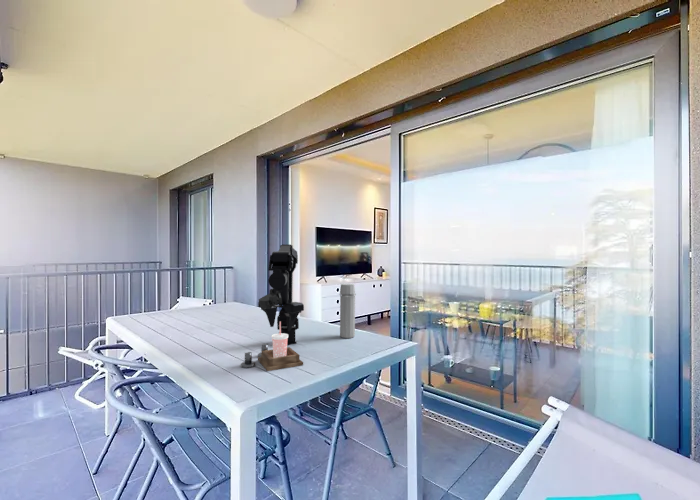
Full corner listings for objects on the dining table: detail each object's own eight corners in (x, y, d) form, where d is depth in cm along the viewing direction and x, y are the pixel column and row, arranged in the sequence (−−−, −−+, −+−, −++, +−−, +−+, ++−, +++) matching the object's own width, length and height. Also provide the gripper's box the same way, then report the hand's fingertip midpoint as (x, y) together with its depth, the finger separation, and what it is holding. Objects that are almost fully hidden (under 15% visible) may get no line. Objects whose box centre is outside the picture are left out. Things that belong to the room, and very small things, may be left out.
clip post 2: (269, 353, 134) (269, 342, 134) (272, 356, 130) (272, 345, 130) (256, 355, 132) (256, 343, 132) (259, 358, 127) (259, 347, 127)
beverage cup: (273, 356, 127) (274, 319, 127) (290, 357, 126) (290, 319, 126) (269, 362, 120) (269, 323, 120) (286, 362, 120) (286, 323, 120)
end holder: (291, 355, 132) (291, 346, 132) (303, 365, 121) (303, 355, 121) (257, 360, 126) (257, 350, 126) (267, 371, 115) (267, 360, 115)
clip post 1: (253, 362, 123) (253, 350, 123) (257, 366, 119) (257, 354, 119) (239, 364, 121) (239, 352, 121) (242, 369, 116) (242, 356, 116)
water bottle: (340, 334, 165) (340, 283, 165) (356, 335, 164) (356, 283, 164) (337, 339, 156) (337, 285, 156) (354, 340, 155) (354, 285, 155)
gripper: (246, 285, 122) (245, 328, 122) (281, 289, 111) (280, 337, 111) (270, 283, 131) (270, 323, 131) (305, 287, 120) (304, 330, 120)
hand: (280, 328), depth 123 cm, fingers open, 9 cm apart
